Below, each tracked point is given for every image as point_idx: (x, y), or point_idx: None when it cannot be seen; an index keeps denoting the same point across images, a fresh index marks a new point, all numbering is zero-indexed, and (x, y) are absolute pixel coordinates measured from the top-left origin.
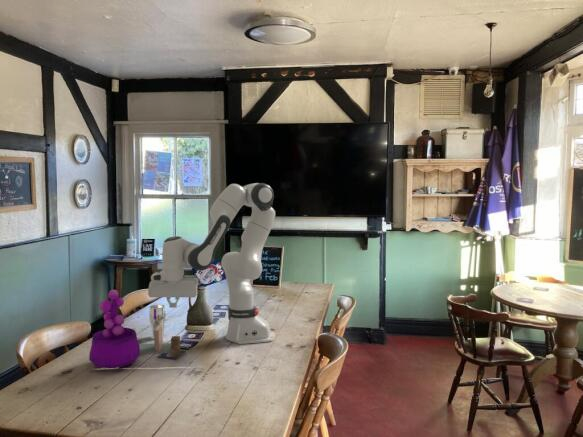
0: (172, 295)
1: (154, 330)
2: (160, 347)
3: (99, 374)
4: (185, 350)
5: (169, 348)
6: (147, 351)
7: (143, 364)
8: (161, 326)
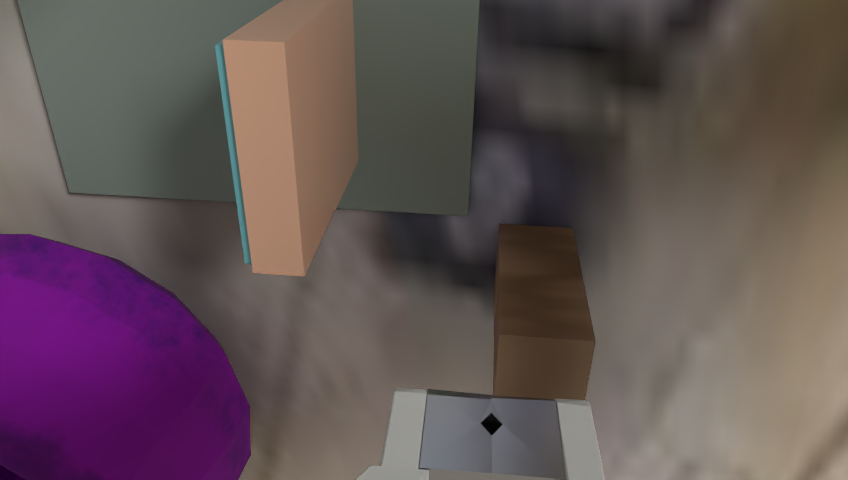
0: None
1: (244, 255)
2: (353, 102)
3: None
4: (621, 120)
5: (449, 94)
6: None
7: (302, 371)
8: (290, 98)
